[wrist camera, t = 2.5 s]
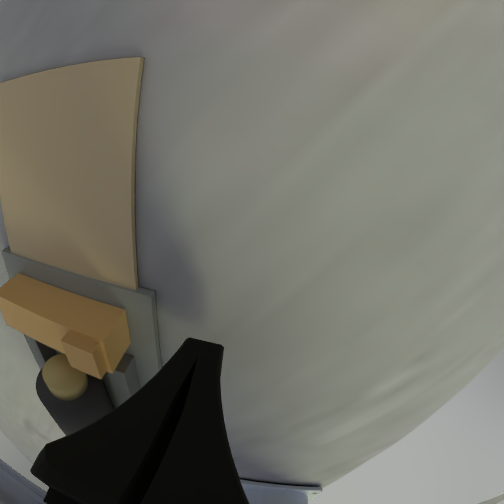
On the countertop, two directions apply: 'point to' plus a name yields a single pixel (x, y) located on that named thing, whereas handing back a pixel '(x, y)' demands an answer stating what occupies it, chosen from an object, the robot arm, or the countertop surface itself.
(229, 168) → the countertop surface
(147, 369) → the board
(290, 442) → the countertop surface
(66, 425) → the dark grey cylinder
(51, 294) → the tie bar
